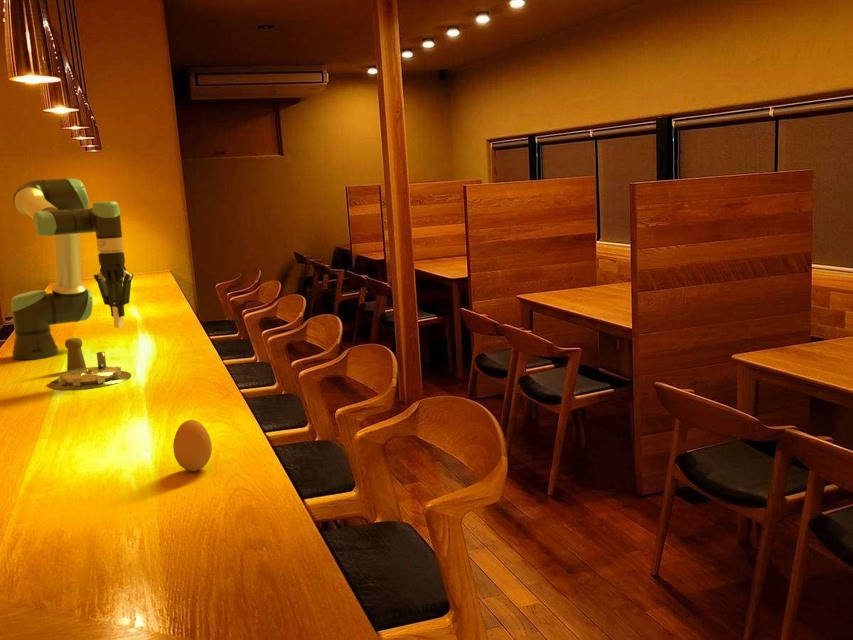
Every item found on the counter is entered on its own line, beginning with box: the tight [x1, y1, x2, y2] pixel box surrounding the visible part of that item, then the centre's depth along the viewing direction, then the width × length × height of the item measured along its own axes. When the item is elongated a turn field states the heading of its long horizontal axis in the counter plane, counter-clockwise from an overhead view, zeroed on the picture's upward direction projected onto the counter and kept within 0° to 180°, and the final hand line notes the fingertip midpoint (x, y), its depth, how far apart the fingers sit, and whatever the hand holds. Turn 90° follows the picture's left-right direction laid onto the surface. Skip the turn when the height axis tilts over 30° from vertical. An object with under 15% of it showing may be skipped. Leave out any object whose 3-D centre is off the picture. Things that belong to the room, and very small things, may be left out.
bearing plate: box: [46, 370, 132, 391], centre depth 250 cm, size 24×24×1 cm
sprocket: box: [57, 351, 122, 386], centre depth 249 cm, size 19×19×7 cm
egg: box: [172, 419, 213, 472], centre depth 164 cm, size 8×8×11 cm
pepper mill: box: [64, 337, 87, 372], centre depth 263 cm, size 6×6×11 cm
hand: (119, 326), depth 250 cm, fingers closed
